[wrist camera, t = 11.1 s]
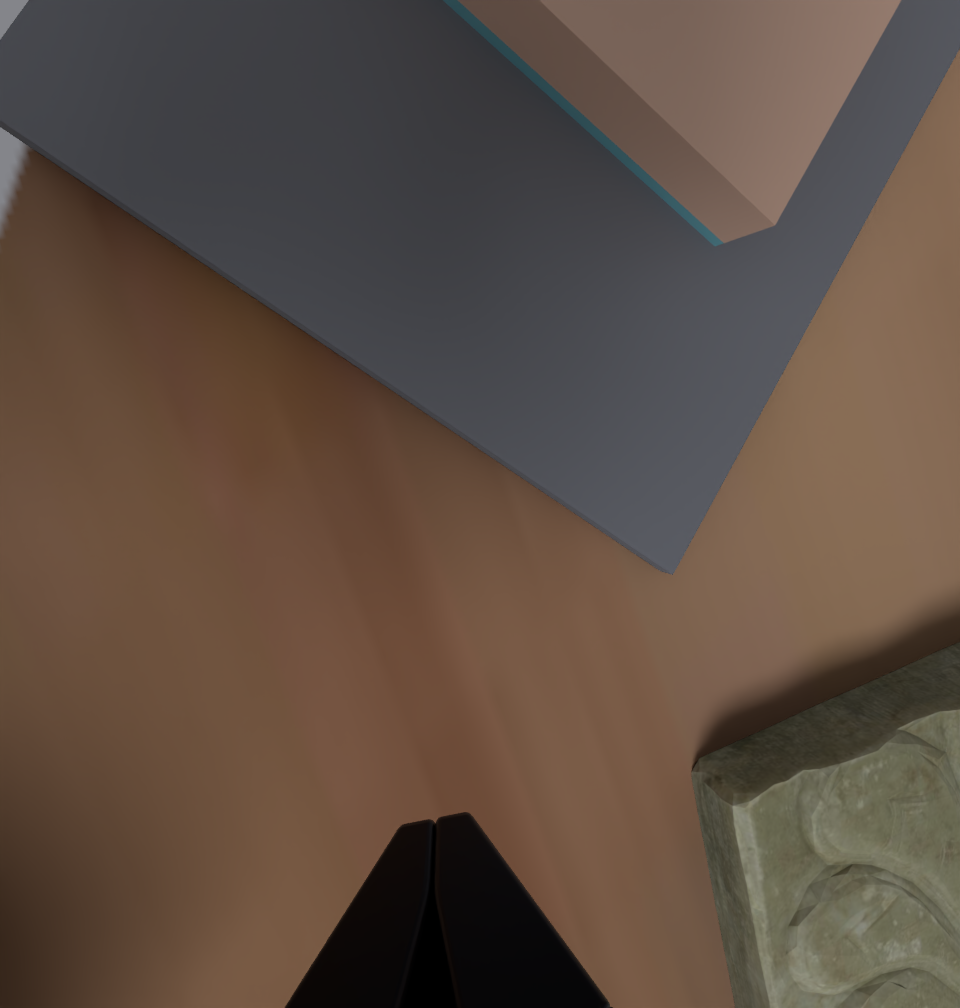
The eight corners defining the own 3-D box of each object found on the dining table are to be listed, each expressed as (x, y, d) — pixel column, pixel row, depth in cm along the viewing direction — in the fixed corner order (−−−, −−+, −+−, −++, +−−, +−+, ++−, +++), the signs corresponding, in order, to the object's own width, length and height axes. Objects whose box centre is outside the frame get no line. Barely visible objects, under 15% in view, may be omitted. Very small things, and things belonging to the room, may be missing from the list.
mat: (660, 571, 23) (673, 574, 23) (-31, 105, 16) (-39, 93, 16) (982, -17, 26) (1000, -27, 25) (502, -638, 19) (512, -671, 18)
